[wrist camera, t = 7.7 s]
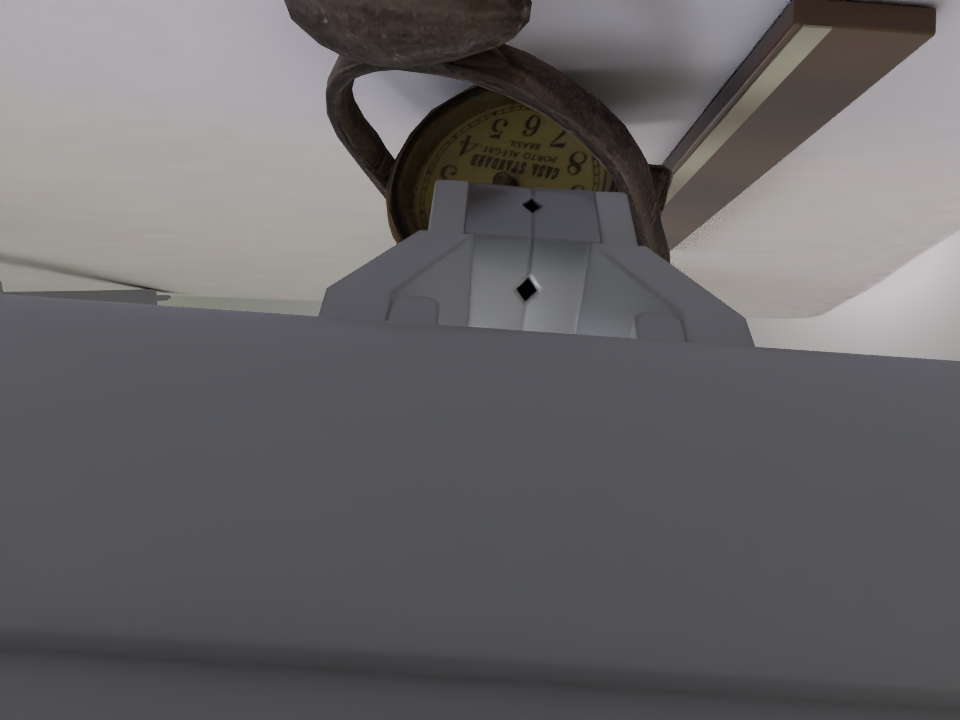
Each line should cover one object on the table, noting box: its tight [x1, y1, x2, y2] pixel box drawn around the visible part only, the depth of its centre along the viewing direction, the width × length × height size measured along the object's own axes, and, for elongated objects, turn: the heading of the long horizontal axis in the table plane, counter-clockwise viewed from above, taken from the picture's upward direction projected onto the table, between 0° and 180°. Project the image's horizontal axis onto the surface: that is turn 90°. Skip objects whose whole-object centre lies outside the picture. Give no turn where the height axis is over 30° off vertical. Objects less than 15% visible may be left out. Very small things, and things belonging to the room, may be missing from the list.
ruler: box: [661, 0, 936, 251], centre depth 29 cm, size 24×3×1 cm, turn 178°
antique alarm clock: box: [284, 0, 673, 263], centre depth 21 cm, size 7×13×10 cm
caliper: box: [0, 282, 171, 305], centre depth 62 cm, size 20×1×6 cm, turn 35°
